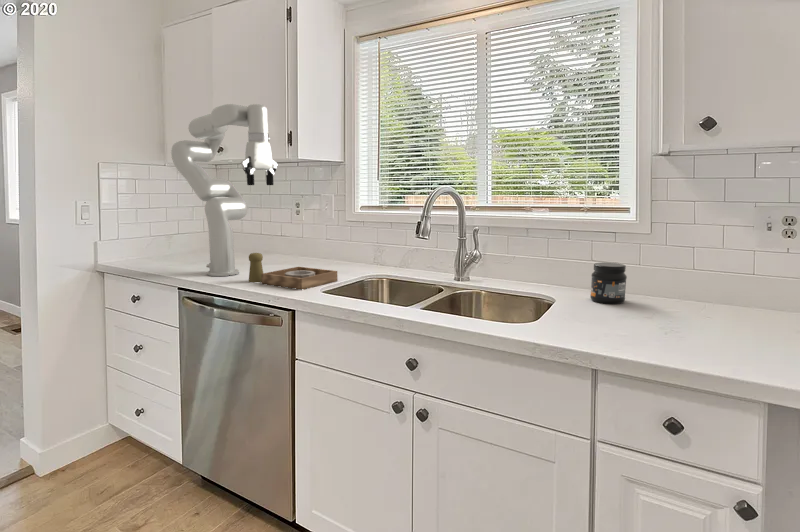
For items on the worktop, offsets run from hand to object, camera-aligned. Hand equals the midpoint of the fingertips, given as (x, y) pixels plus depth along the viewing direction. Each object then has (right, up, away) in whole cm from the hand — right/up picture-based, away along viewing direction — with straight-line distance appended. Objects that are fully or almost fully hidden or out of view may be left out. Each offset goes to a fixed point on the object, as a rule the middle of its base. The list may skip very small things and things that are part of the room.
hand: (260, 185), depth 198 cm
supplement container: (+120, -42, -29) cm, 131 cm away
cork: (-2, -37, +2) cm, 37 cm away
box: (+15, -37, 0) cm, 40 cm away
